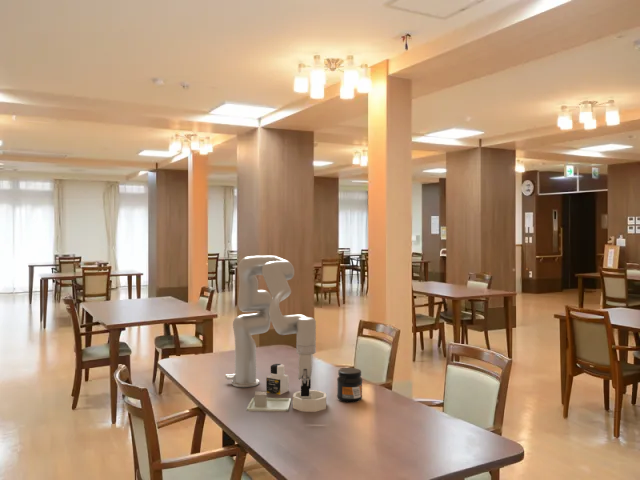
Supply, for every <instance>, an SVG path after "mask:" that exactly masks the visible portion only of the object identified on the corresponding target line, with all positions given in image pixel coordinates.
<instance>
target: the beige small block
mask: <svg viewBox="0 0 640 480" xmlns="http://www.w3.org/2000/svg"><path fill="white" fill-rule="evenodd" d="M254 398H255V407H266V405H267V398H268V393H267V392H266V391H255V393H254Z"/></svg>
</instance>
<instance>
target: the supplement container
mask: <svg viewBox="0 0 640 480" xmlns="http://www.w3.org/2000/svg"><path fill="white" fill-rule="evenodd" d="M337 372H338V373H337V375H338V376H337V378H336V382H337V383H336V386H337V388H336V389H337V390H336V391H337V392H336V394H337V395H336V398H337V399H338V400H339V401H340V402H342V403H357V402H360V401H361V400H362V399H363V378H362V370H361V369H359V368H357V367H356V368H355V367H344V368H340V369H339V370H337Z"/></svg>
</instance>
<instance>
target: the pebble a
mask: <svg viewBox="0 0 640 480" xmlns="http://www.w3.org/2000/svg"><path fill="white" fill-rule="evenodd" d="M300 398H301V399H311V393H309V396H301V393H300Z"/></svg>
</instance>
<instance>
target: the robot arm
mask: <svg viewBox="0 0 640 480" xmlns="http://www.w3.org/2000/svg"><path fill="white" fill-rule="evenodd" d="M237 267H238V269H237V270H238V271H237V273H238V278H239V286H238V287H239V288H238V299H237V306H238V309H239V311H241V312H242V313H245V314H240V315H238V316H235V318H234V319H233V320H232V330H233V335H234V373H232V374H231V373H230V374H228V373H226V374H225V379H226V380H232V381H231V385H232V386H234V387H235V388H236V387H237V388H252V387H255V386H256V387H257V386H258V385H259V384H260V380H259V379H258V378H257V343H256V341H255V339H254V338H253V336H254V335H260V334H264V333H267V332H268V331H269V330H270V328H271V324H272V326H273V328H274V330H275V332H276V333H277V334H278V335H281V336H285V335H292V334H293V335H294V334H295V335H296V354H298V373H297V375H298V376H297V377H298V379H297V380H301V383H300V384H301V385H300V391H301V396H309V390H311V387H312V386H311V378H312V372H313V355H314V354H316V353H317V351H316V347H317V346H316V343H317V342H316V341H317V340H316V339H317V337H316V335H317V333H316V332H317V329H316V328H317V324H316V323H317V321H316V319H315V318H313V317H312V316H311V317H310V316H307V315H304V314H300V313H299V314H288V315H283V313H282V311H281V309H280V303H281V302H282V301H285V299H287V298H289V296H290V295H291V293H292V289H291V286H290V285H289V282H288V281H289V280H292V279H293V278H294V276H295V268H294V265H293V264H292V263H291V262H290V261H289V260H287V259H284V258H282V257H279V256H277V255H250V256H245V257H243V258H241V259H240V261H239V263H238V266H237ZM257 276H263V280H264V282H265V284H266V286H267V290H266V289H259V280H258V278H257ZM253 312H256V313H253Z"/></svg>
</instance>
